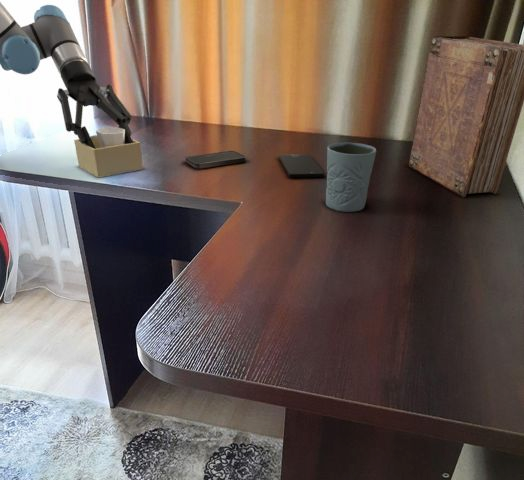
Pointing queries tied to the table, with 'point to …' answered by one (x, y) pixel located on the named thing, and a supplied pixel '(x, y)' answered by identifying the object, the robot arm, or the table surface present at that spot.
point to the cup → (110, 136)
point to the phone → (215, 159)
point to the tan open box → (109, 158)
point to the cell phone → (300, 165)
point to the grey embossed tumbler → (348, 175)
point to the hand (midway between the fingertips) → (113, 151)
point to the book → (468, 112)
